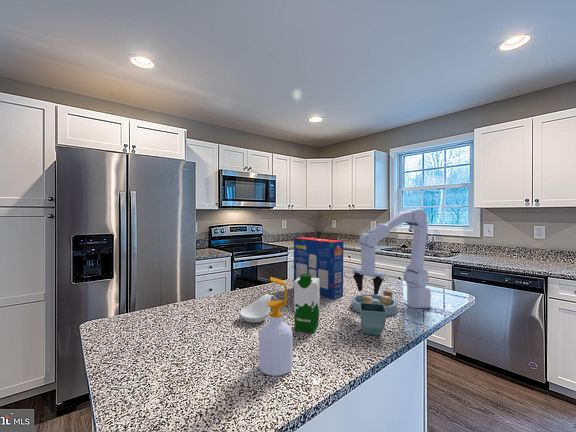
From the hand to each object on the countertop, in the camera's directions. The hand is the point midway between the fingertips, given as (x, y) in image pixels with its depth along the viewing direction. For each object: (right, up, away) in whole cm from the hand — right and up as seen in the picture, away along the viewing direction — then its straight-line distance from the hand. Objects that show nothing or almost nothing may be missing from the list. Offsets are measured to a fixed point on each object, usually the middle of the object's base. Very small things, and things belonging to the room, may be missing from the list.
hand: (368, 292), depth 126 cm
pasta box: (-19, -8, +29) cm, 36 cm away
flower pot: (-5, -9, -22) cm, 24 cm away
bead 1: (0, -7, 0) cm, 7 cm away
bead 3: (+8, -7, 0) cm, 10 cm away
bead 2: (+13, -8, +13) cm, 20 cm away
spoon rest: (-45, -8, -5) cm, 46 cm away
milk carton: (-28, -8, -19) cm, 34 cm away
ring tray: (+4, -8, +4) cm, 10 cm away
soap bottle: (-38, -9, -46) cm, 60 cm away
